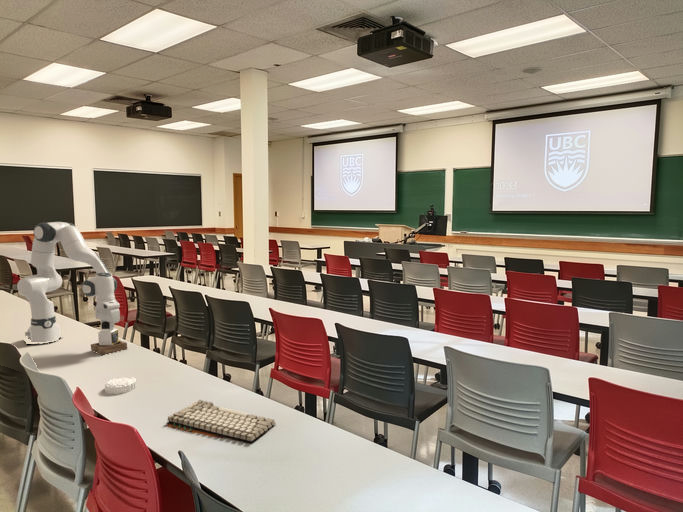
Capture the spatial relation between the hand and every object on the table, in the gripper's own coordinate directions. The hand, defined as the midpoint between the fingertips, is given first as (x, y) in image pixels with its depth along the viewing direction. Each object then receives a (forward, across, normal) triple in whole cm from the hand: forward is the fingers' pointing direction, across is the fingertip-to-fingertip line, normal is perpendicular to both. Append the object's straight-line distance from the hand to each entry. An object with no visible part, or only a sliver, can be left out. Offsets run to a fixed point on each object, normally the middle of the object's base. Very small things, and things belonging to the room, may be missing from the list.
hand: (107, 328), depth 252 cm
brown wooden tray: (+12, 0, 0) cm, 12 cm away
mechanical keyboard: (+13, +119, -18) cm, 121 cm away
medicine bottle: (+8, 0, 0) cm, 8 cm away
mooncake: (+12, +58, -23) cm, 64 cm away
